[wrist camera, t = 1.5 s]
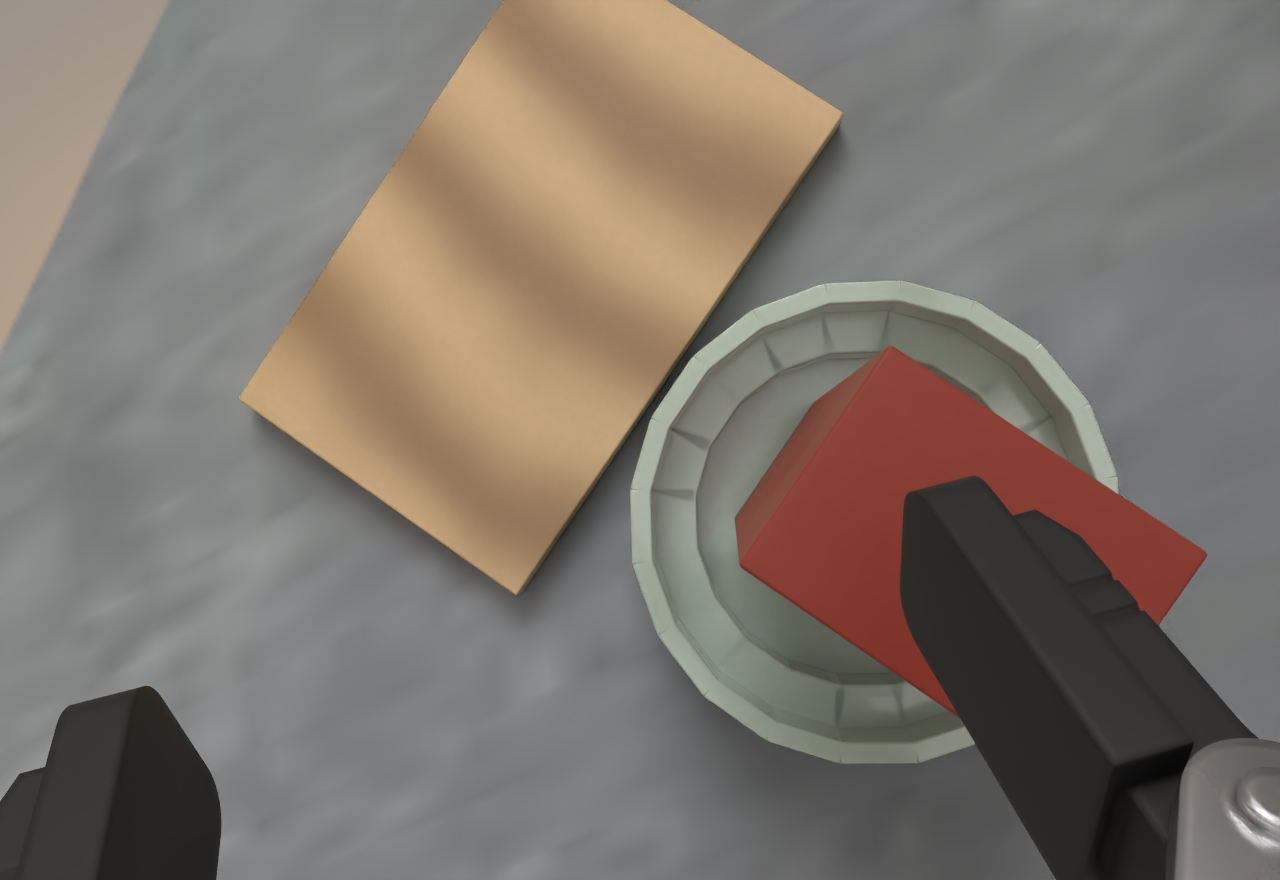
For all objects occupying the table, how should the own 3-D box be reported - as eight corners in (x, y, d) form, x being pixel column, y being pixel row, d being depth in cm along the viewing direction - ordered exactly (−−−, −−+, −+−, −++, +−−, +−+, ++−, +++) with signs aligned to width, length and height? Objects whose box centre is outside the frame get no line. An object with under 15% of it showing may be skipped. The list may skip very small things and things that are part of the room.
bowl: (795, 223, 32) (805, 189, 28) (1157, 458, 31) (1220, 457, 27) (562, 567, 33) (539, 581, 29) (911, 812, 32) (937, 862, 28)
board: (556, -58, 33) (551, -75, 32) (841, 123, 32) (844, 112, 31) (251, 401, 34) (236, 399, 33) (522, 592, 33) (516, 596, 32)
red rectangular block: (814, 401, 32) (890, 343, 17) (979, 511, 31) (1210, 554, 16) (733, 519, 32) (738, 565, 17) (897, 630, 31) (1050, 781, 16)
